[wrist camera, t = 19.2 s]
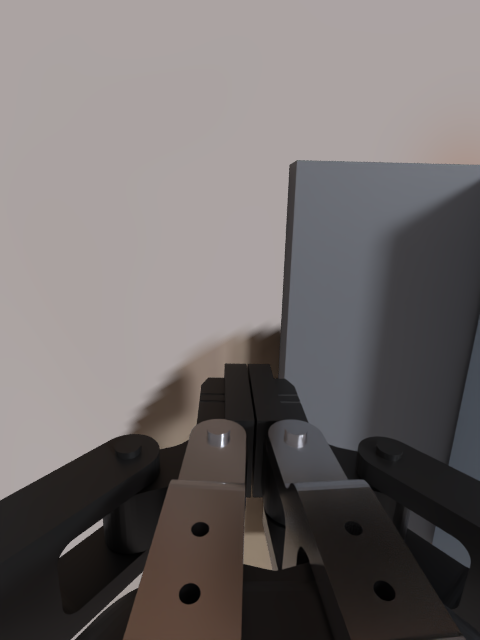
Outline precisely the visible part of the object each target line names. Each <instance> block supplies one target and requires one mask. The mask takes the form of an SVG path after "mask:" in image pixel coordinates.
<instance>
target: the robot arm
mask: <svg viewBox="0 0 480 640" xmlns="http://www.w3.org/2000/svg"><path fill="white" fill-rule="evenodd" d="M251 483H252V493H253V497H263V504H264V505H263V520H262V521H263V527H264V532H265V536H266V541H267V546H268V550H269V555H270V560H271V564H272V569H273V570H267V569H263V568H258V567H254V566H250V565H245V564H243V551H244V515H245V506H246V497H250V496H251ZM411 511H413V512H414V513H416V514H417V515H419V516H421V517H422V518H424V519H425V520H427V521H429V522H430V523H432V524H433V525H435V526H437V527H438V528H440V529H441V530H443V531H445V532H446V533H448V534H450V535H451V536H453V537H454V538H456V539H457V540H458V541H459V542H461V543H462V545H463V546H464V547H465V548H466V550H467V551H468V553H469V556H470V560H471V564H470V568H468V567H466V566H464V565H462V564H461V563H459V562H458V561H456V560H455V559H453V558H452V557H450V556H449V555H447V554H446V553H444V552H443V551H441V550H440V549H438V548H437V547H435V546H434V545H432V544H431V543H429V542H428V541H426V540H425V539H423V538H422V537H420V536H419V535H417V534H416V533H414V532H413V531H411V530H410V529H408V528H407V527H408V522H409V517H410V512H411ZM102 518H103V526H102V527H101V528H99V529H98V530H96V531H95V532H94V533H93V534H91V535H90V536H89V537H87V538H86V539H84V540H83V541H82V542H80V543H79V544H78V545H76V546H75V547H74V548H72V549H71V550H70V551H68V552H67V553H66V554H64V555H63V556H61V557H60V555H61V553H62V551H63V550H64V549H65V547H66V546H67V545H68V544H69V543H70V542H71V541H72V540H73V539H75V538H76V537H77V536H78V535H80V534H81V533H82V532H84V531H86V530H87V529H88V528H90V527H91V526H92V525H94V524H95V523H96V522H98V521H99V520H101V519H102ZM59 557H60V558H59ZM142 572H143V574H142V577H141V581H140V584H139V587H138V588H137V589H135V590H133V591H131V592H129V593H128V594H126V595H125V596H123V597H122V598H120V599H119V600H117V601H116V602H115V603H113V604H112V605H111V606H110V607H108V608H107V609H106V610H105V611H103V612H102V613H101V614H100V615H99V616H98V617H97V618H96V619H95V620H94V621H93V622H92V623H91V624H90V625H89V626H88V627H87V628H86V629H85V630H84V631H83V632H82V633H81V634H80V635H79V636H78V637H77V638H76V639H75V640H480V481H479V480H477V479H475V478H473V477H471V476H469V475H467V474H465V473H463V472H461V471H459V470H457V469H455V468H453V467H451V466H449V465H447V464H445V463H443V462H441V461H439V460H437V459H435V458H433V457H431V456H429V455H427V454H424V453H422V452H420V451H418V450H416V449H414V448H412V447H410V446H408V445H406V444H404V443H402V442H400V441H398V440H395V439H392V438H388V437H380V436H374V437H368V438H365V439H363V440H362V441H361V442H360V443H359V445H358V450H357V451H353V450H349V449H344V448H339V447H335V446H333V445H330V444H328V443H327V441H326V439H325V437H324V435H323V434H322V432H321V431H320V430H319V429H318V428H317V427H315V426H314V425H312V424H310V423H308V420H307V417H306V415H305V412H304V410H303V407H302V405H301V403H300V399H299V397H298V394H297V392H296V389H295V386H294V385H292V384H291V383H290V382H289V381H288V380H286V379H274V378H273V374H272V371H271V367H270V364H248V366H247V365H246V364H225V372H224V378H208V379H207V380H206V381H205V382H204V383H203V384H202V385H201V393H200V402H199V410H198V418H197V425H196V426H195V427H194V428H193V429H192V431H191V434H190V437H189V440H187V441H186V442H184V443H182V444H180V445H177V446H174V447H170V448H165V449H160V450H159V445H158V443H157V442H156V441H155V440H154V439H153V438H151V437H149V436H145V435H140V434H130V435H123V436H119V437H117V438H114V439H112V440H110V441H108V442H106V443H104V444H102V445H101V446H99V447H97V448H95V449H93V450H91V451H90V452H88V453H86V454H84V455H82V456H81V457H79V458H77V459H75V460H74V461H71V462H70V463H68V464H66V465H64V466H62V467H60V468H59V469H57V470H55V471H53V472H51V473H50V474H48V475H46V476H44V477H42V478H41V479H39V480H37V481H35V482H33V483H31V484H30V485H28V486H26V487H24V488H22V489H20V490H19V491H17V492H15V493H13V494H11V495H9V496H8V497H6V498H4V499H2V500H1V501H0V640H71V639H72V638H73V637H74V636H75V635H76V634H77V633H78V632H79V631H80V630H81V629H82V628H83V627H84V626H85V625H87V624H88V623H89V622H90V621H91V620H92V619H93V618H94V617H95V616H96V615H97V614H98V613H99V612H100V611H101V610H103V609H104V607H106V606H107V605H108V604H109V603H110V602H111V601H112V600H113V599H114V598H115V597H116V596H117V595H118V594H119V593H121V592H122V591H123V590H124V589H125V588H126V587H127V586H128V585H129V584H130V583H131V582H132V581H133V580H134V579H135V578H136V577H137V576H139V575H140V574H141V573H142Z"/></svg>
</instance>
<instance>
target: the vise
mask: <svg viewBox="0 0 480 640" xmlns="http://www.w3.org/2000/svg"><path fill="white" fill-rule="evenodd" d="M288 188H289V189H288V206H287V224H286V243H285V262H284V282H283V300H282V319H281V338H280V357H279V375H278V379H286V380H288V381H289V382H290V383H291V384H292V385H294V386H295V389H296V392H297V394H298V397H299V399H300V403H301V405H302V407H303V410H304V412H305V415H306V417H307V420H308V423H310V424H312V425H314V426H315V427H317V428H318V429H319V430H320V431H321V432H322V434H323V435H324V437H325V439H326V441H327V443H328V444H330V445H333V446H335V447H339V448H344V449H349V450H353V451H357V450H358V445H359V443H360V442H361V441H362V440H363V439H365V438H368V437H374V436H380V437H388V438H392V439H395V440H398V441H400V442H402V443H404V444H406V445H408V446H410V447H412V448H414V449H416V450H418V451H420V452H422V453H424V454H427V455H429V456H431V457H433V458H435V459H437V460H439V461H441V462H443V463H445V464H447V465H449V460H450V455H451V450H452V446H453V441H454V436H455V431H456V426H457V422H458V417H459V412H460V407H461V402H462V398H463V393H464V388H465V383H466V378H467V374H468V369H469V364H470V359H471V354H472V350H473V345H474V340H475V335H476V330H477V326H478V321H479V316H480V165H460V164H422V163H421V164H420V163H383V162H344V161H343V162H342V161H305V160H303V161H301V160H297V161H295V162H294V163H292V164H290V168H289V187H288ZM435 527H436V526H435V525H433V524H432V523H430V522H429V521H427V520H425V519H424V518H422V517H421V516H419V515H417V514H416V513H414V512H413V511H411V512H410V517H409V522H408V527H407V528H408V529H410V530H411V531H413V532H414V533H416V534H417V535H419V536H420V537H422V538H423V539H425V540H426V541H428V542H429V543H432V542H433V537H434V532H435Z"/></svg>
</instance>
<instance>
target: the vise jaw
mask: <svg viewBox="0 0 480 640" xmlns="http://www.w3.org/2000/svg"><path fill="white" fill-rule="evenodd" d="M449 466H451V467H453V468H455V469H457V470H459V471H461V472H463V473H465V474H467V475H469V476H471V477H473V478H475V479H477V480H479V481H480V316H479V321H478V326H477V330H476V335H475V340H474V345H473V350H472V354H471V359H470V364H469V369H468V374H467V378H466V383H465V388H464V393H463V398H462V402H461V407H460V412H459V417H458V422H457V426H456V431H455V436H454V441H453V446H452V450H451V455H450V460H449ZM432 545H434V546H435V547H437V548H438V549H440V550H441V551H443V552H444V553H446V554H447V555H449V556H450V557H452V558H453V559H455V560H456V561H458V562H459V563H461V564H462V565H464V566H466V567H468V568H470V564H471V560H470V556H469V553H468V551H467V550H466V548H465V547H464V546H463V545H462V543H461V542H459V541H458V540H457V539H456V538H454V537H453V536H451V535H450V534H448V533H446V532H445V531H443V530H441V529H440V528H438V527H437V526H436V527H435V532H434V537H433V542H432Z"/></svg>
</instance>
